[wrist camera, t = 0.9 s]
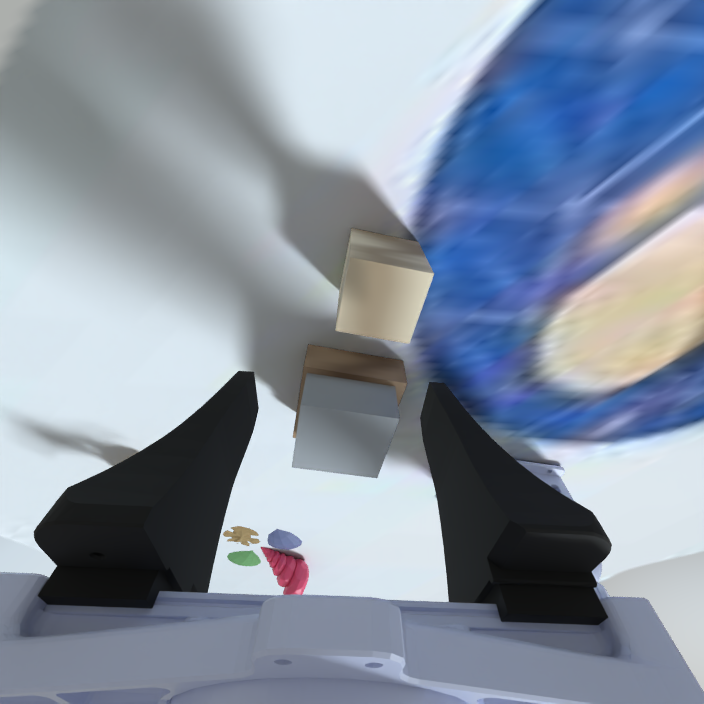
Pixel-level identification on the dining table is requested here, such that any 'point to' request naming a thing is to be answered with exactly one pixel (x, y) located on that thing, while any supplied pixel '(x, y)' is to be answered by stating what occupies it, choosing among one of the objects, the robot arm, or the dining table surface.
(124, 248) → the dining table surface
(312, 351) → the walnut block
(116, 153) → the dining table surface
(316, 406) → the slate grey block
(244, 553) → the toy pieces
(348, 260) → the birch block
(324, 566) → the dining table surface
